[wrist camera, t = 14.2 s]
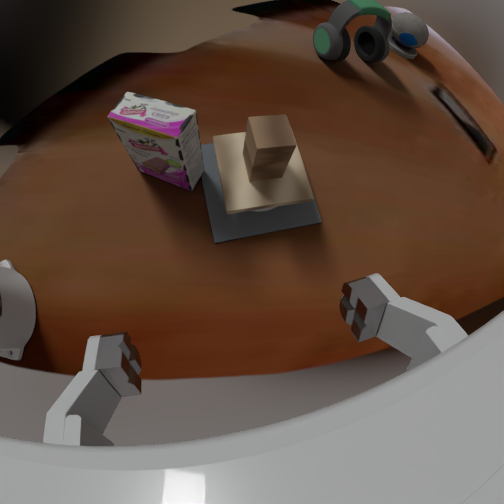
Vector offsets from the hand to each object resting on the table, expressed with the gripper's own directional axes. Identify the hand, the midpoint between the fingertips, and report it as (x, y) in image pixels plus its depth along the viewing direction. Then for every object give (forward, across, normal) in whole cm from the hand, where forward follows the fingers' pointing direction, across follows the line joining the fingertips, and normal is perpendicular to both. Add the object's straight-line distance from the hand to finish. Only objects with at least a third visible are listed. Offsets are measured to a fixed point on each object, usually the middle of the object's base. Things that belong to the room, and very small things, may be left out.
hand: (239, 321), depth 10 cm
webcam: (+71, -70, -23) cm, 102 cm away
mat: (+38, -10, +9) cm, 40 cm away
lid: (+35, -10, +6) cm, 36 cm away
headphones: (+63, -43, -15) cm, 78 cm away
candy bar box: (+42, +4, +6) cm, 42 cm away
